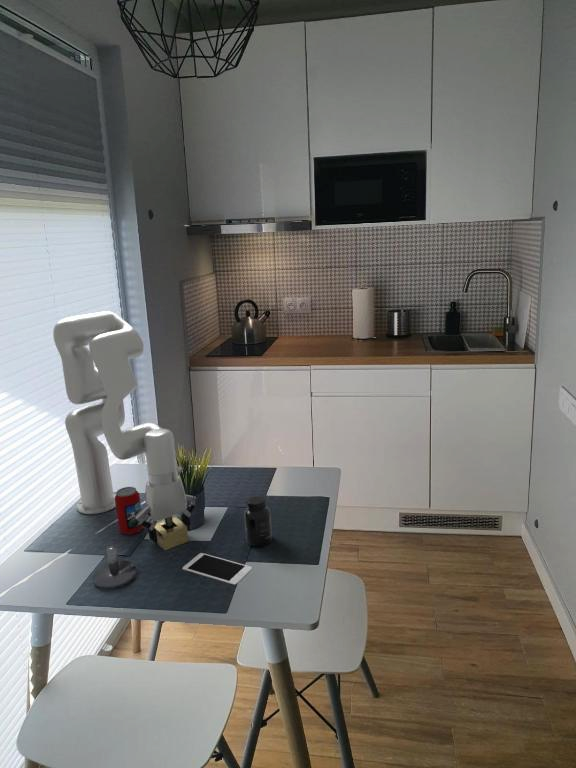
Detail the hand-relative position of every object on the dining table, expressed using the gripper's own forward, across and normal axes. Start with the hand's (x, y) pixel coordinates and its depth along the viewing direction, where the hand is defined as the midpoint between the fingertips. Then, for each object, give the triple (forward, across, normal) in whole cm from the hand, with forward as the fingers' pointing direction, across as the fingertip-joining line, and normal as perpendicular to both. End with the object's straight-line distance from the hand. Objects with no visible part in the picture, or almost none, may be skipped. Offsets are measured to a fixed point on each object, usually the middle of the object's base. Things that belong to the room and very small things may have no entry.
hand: (170, 534), depth 159 cm
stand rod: (+2, 0, 0) cm, 2 cm away
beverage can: (+2, +6, -13) cm, 14 cm away
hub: (+2, +18, +7) cm, 19 cm away
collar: (+2, 0, 0) cm, 2 cm away
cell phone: (+2, -3, +20) cm, 20 cm away
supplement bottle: (+2, -18, +16) cm, 24 cm away
